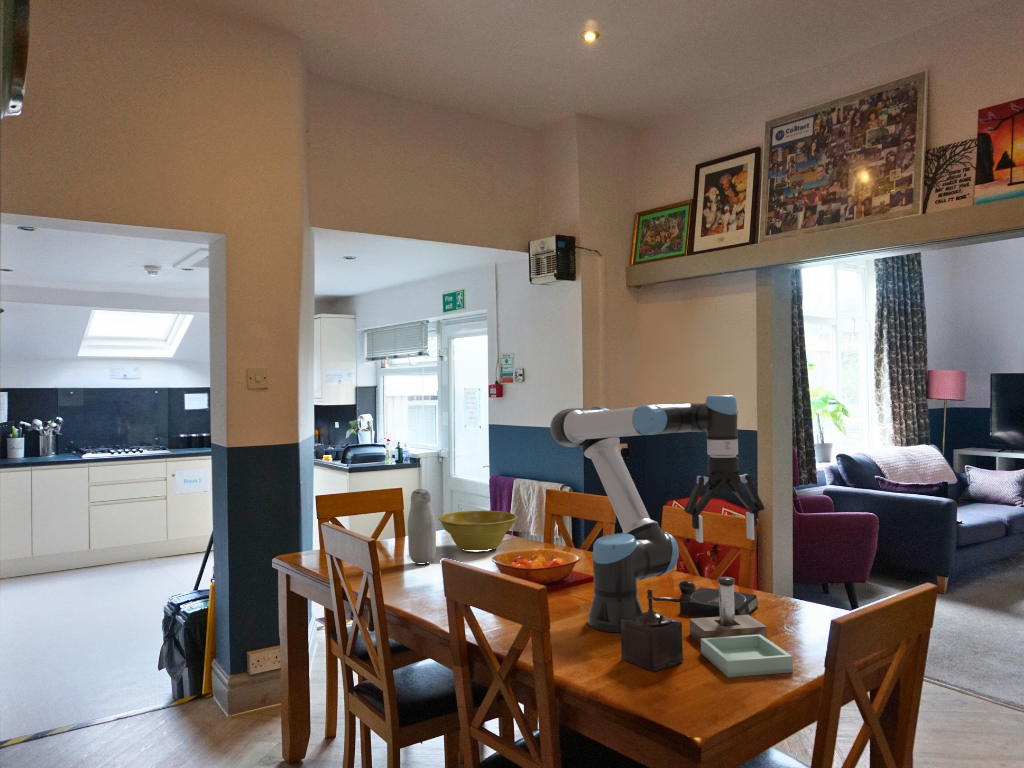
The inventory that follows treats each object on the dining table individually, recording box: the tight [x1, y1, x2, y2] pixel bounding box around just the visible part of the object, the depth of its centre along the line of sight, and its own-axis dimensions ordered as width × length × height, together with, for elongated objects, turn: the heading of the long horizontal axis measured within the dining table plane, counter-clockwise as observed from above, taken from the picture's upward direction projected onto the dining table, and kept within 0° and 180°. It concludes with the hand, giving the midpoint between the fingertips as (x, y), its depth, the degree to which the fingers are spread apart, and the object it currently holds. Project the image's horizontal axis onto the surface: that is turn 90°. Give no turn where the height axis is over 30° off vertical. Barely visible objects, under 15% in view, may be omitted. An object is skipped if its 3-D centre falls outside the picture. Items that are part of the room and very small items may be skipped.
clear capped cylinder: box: [717, 576, 736, 626], centre depth 183 cm, size 4×4×15 cm
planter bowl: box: [438, 510, 518, 550], centre depth 297 cm, size 32×32×13 cm
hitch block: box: [688, 614, 768, 644], centre depth 183 cm, size 16×10×4 cm, turn 98°
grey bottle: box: [407, 488, 437, 564], centre depth 273 cm, size 10×10×28 cm
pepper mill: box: [620, 580, 697, 673], centre depth 170 cm, size 16×11×18 cm
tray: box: [700, 634, 794, 678], centre depth 167 cm, size 15×15×4 cm
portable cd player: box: [679, 586, 759, 618], centre depth 207 cm, size 16×17×4 cm
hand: (725, 540), depth 183 cm, fingers open, 13 cm apart
